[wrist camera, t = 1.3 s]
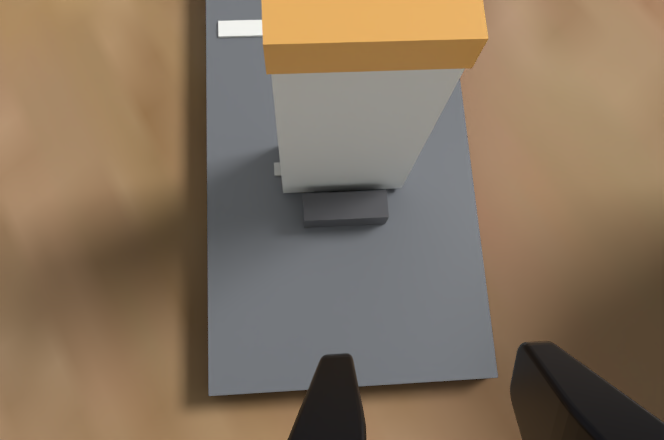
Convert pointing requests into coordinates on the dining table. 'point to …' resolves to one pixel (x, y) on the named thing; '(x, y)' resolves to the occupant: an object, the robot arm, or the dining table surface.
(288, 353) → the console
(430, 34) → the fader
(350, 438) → the robot arm
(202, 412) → the dining table surface
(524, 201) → the dining table surface
